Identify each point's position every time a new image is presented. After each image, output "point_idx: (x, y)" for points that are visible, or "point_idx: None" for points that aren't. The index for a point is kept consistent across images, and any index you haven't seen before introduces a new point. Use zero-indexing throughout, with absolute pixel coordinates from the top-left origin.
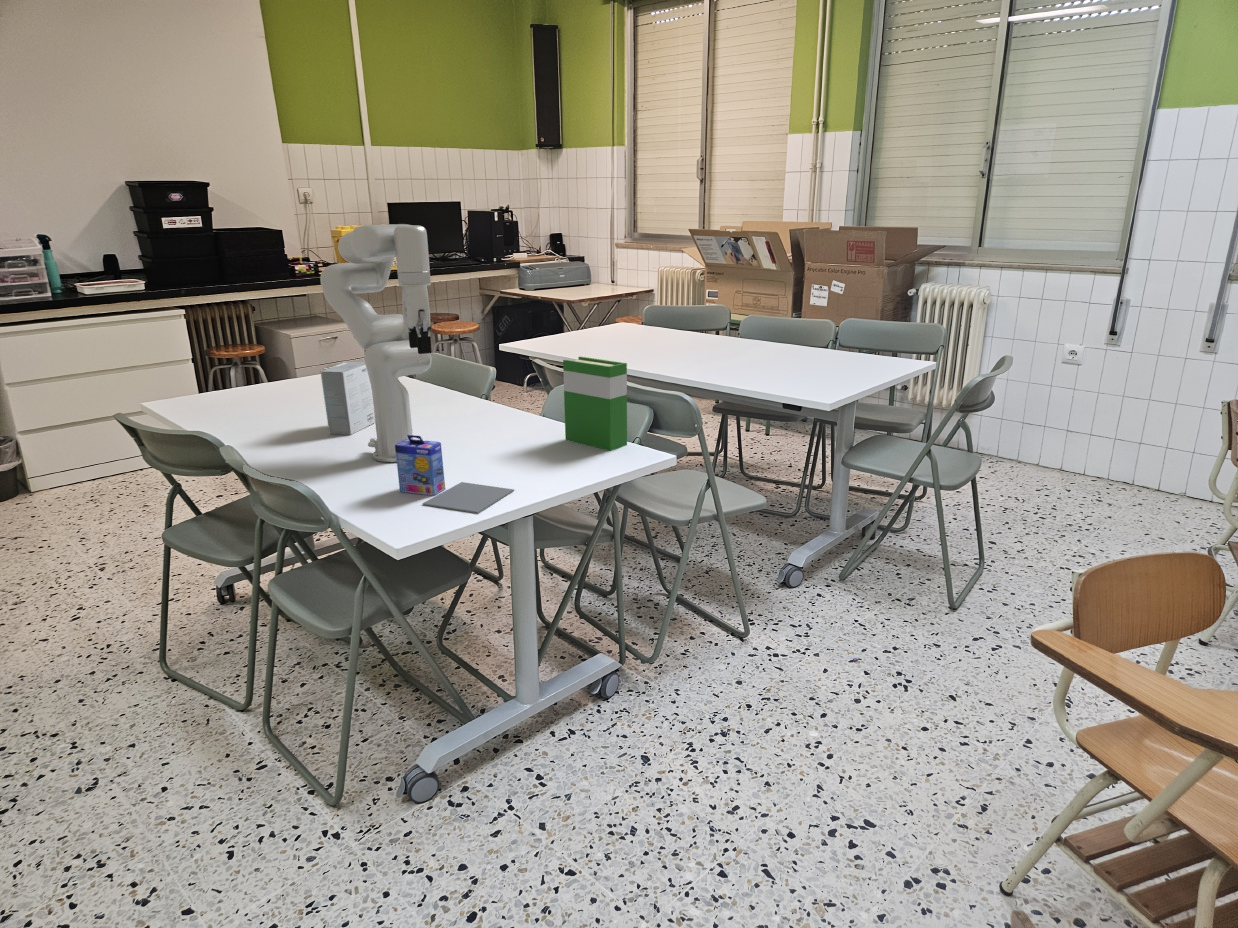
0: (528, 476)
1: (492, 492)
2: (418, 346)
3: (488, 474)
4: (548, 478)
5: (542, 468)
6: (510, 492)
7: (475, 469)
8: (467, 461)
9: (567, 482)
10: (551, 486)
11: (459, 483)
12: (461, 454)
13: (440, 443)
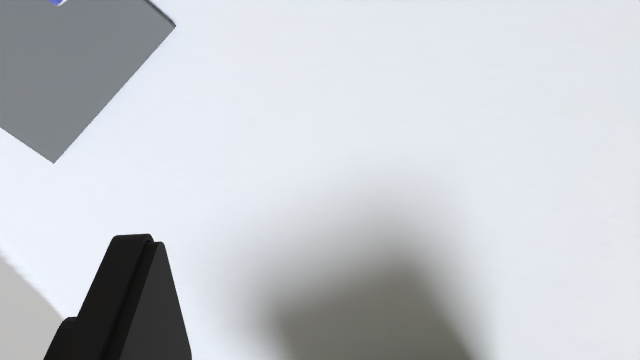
0: (185, 224)
1: (36, 100)
2: (83, 319)
3: (247, 127)
4: None
5: (247, 271)
6: (33, 148)
7: (319, 100)
8: (425, 93)
9: None
10: (77, 254)
11: (160, 17)
12: (521, 90)
13: (51, 2)
